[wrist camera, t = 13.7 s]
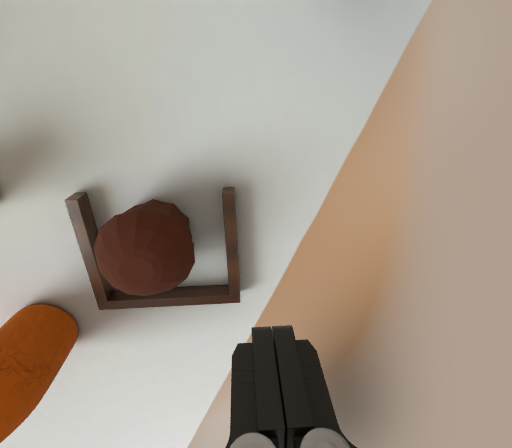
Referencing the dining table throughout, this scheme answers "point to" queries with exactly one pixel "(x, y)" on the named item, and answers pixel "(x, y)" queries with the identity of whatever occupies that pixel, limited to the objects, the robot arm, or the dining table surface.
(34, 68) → the dining table surface
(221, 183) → the dining table surface
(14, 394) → the wine bottle
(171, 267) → the muffin
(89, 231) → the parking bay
